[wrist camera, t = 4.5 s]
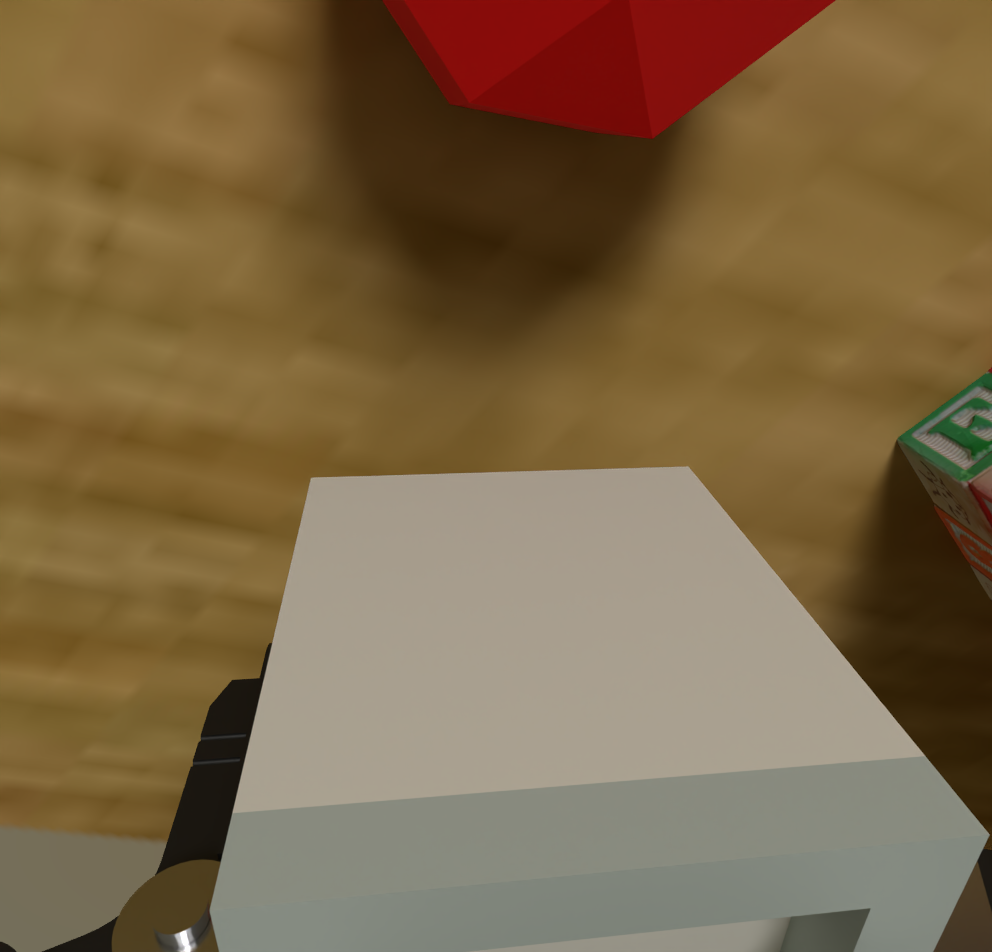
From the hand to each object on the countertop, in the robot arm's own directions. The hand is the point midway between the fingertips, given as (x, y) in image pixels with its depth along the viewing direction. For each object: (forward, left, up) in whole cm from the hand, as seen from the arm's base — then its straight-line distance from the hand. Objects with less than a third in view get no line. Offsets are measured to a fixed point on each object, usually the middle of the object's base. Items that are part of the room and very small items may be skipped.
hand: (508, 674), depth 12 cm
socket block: (0, 0, -1) cm, 1 cm away
